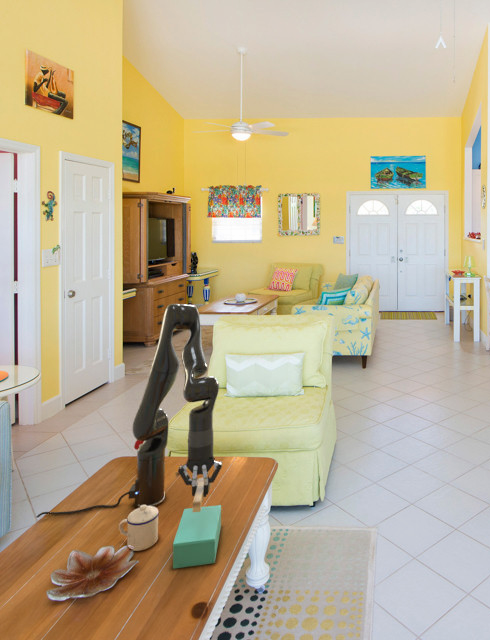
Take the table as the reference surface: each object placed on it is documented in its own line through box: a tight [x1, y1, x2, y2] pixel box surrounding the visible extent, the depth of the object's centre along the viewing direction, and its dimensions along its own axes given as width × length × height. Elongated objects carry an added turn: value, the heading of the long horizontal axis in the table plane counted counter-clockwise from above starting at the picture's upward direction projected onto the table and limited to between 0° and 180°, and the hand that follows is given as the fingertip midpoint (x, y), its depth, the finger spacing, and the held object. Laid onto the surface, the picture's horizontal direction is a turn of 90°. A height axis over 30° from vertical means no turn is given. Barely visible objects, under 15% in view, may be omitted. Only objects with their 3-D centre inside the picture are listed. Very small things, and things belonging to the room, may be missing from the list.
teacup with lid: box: [118, 505, 160, 552], centre depth 147 cm, size 12×9×12 cm
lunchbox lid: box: [172, 504, 222, 548], centre depth 145 cm, size 18×12×1 cm, turn 13°
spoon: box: [192, 476, 213, 512], centre depth 146 cm, size 17×5×3 cm, turn 13°
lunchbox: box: [172, 509, 222, 569], centre depth 146 cm, size 18×12×7 cm, turn 13°
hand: (200, 495), depth 146 cm, fingers closed on spoon, 2 cm apart
